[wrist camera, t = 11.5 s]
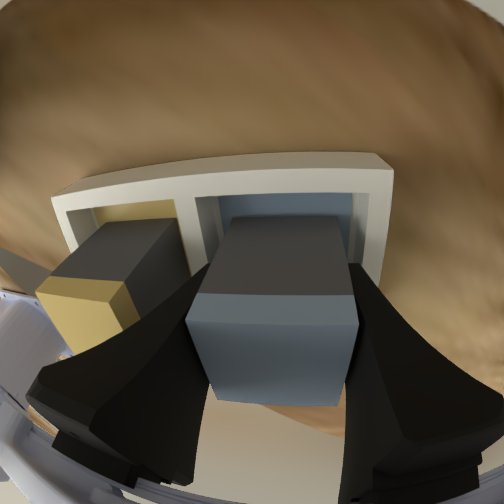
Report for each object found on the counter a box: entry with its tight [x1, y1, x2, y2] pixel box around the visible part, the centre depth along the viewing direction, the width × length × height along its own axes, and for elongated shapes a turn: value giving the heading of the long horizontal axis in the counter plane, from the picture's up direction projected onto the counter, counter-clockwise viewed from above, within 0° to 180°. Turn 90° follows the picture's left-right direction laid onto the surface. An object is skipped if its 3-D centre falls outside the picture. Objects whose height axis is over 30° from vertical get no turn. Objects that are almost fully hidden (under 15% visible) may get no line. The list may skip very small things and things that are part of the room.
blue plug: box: [185, 216, 359, 406], centre depth 9 cm, size 4×4×6 cm
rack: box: [51, 152, 394, 287], centre depth 12 cm, size 14×8×2 cm, turn 96°
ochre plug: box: [35, 217, 191, 355], centre depth 11 cm, size 4×4×6 cm
